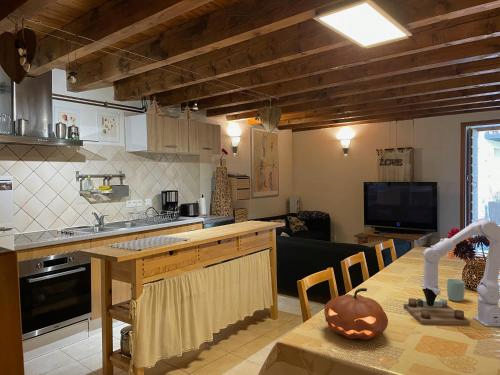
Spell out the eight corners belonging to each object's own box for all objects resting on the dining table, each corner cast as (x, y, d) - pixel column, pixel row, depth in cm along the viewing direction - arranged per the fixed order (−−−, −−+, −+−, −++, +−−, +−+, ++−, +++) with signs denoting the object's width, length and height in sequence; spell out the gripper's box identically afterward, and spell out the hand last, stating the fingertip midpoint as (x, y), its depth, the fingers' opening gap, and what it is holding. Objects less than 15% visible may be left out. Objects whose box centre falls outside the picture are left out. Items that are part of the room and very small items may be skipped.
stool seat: (470, 325, 153) (470, 314, 152) (421, 324, 154) (421, 313, 153) (446, 308, 173) (446, 298, 172) (403, 307, 174) (403, 297, 173)
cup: (466, 303, 179) (467, 283, 179) (449, 302, 181) (450, 282, 181) (461, 298, 187) (461, 279, 187) (444, 297, 189) (444, 278, 188)
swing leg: (445, 305, 171) (445, 299, 171) (448, 307, 168) (448, 301, 168) (416, 304, 172) (417, 298, 172) (419, 306, 169) (419, 300, 169)
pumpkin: (313, 338, 141) (314, 289, 140) (334, 316, 162) (334, 274, 162) (380, 354, 128) (381, 301, 127) (393, 328, 149) (394, 283, 149)
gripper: (415, 271, 170) (414, 299, 170) (428, 279, 156) (428, 311, 156) (430, 271, 170) (429, 300, 170) (445, 280, 155) (444, 311, 156)
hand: (430, 305), depth 163 cm, fingers closed
